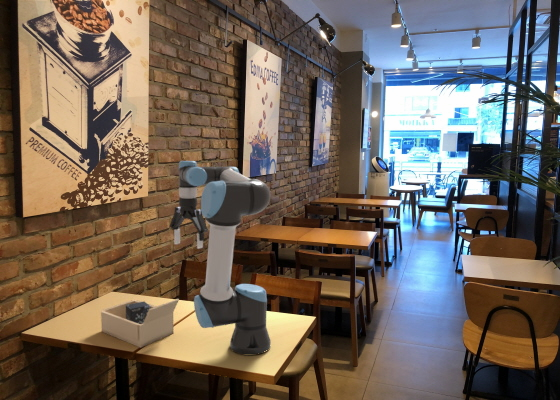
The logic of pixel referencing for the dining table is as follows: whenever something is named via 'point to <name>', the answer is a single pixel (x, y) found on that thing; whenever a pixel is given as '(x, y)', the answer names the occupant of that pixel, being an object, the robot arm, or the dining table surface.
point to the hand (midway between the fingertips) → (188, 246)
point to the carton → (134, 326)
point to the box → (137, 312)
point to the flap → (161, 311)
